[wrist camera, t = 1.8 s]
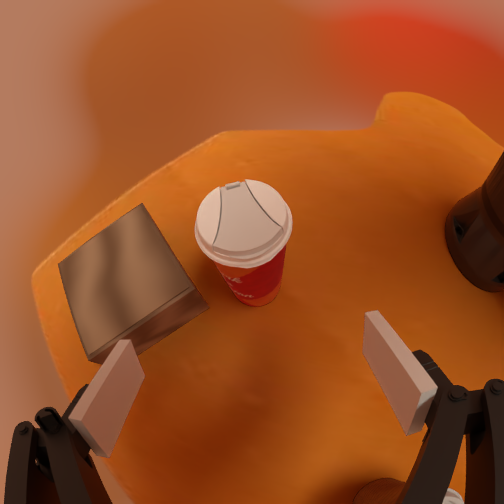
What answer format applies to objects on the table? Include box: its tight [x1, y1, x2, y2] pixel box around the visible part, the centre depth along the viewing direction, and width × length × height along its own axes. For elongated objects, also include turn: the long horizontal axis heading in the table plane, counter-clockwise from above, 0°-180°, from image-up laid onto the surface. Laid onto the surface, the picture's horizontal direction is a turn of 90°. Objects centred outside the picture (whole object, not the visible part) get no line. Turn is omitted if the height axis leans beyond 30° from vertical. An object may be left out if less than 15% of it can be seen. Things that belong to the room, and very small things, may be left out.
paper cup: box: [195, 180, 293, 307], centre depth 27 cm, size 8×8×14 cm
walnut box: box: [58, 203, 209, 365], centre depth 31 cm, size 14×14×6 cm
